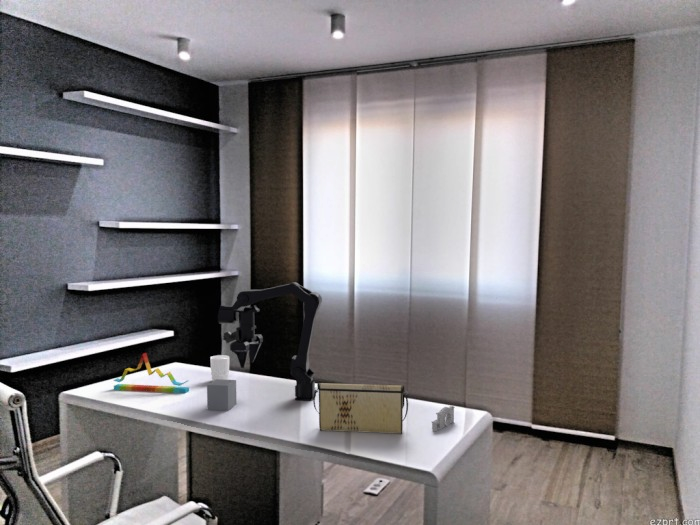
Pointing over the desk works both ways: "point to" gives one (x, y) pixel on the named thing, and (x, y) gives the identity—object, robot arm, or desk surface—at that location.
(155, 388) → the chart
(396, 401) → the clutch purse
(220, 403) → the matte grey cube
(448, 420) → the garden wall model
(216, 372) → the white cup
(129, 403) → the desk surface
